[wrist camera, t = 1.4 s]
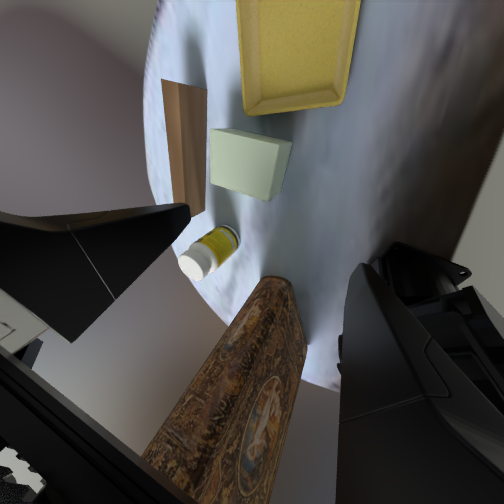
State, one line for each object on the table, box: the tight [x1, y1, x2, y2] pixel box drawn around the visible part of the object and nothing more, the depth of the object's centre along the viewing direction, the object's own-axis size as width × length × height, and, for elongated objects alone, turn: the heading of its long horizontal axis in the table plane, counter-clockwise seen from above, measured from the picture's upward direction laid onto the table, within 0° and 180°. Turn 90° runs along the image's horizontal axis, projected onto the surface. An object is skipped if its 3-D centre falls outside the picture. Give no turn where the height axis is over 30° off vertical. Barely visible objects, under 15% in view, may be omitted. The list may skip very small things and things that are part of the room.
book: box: [141, 276, 307, 504], centre depth 22 cm, size 16×6×25 cm, turn 19°
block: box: [210, 128, 292, 202], centre depth 19 cm, size 7×5×4 cm
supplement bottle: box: [178, 225, 240, 281], centre depth 25 cm, size 5×5×8 cm
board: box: [161, 79, 207, 218], centre depth 22 cm, size 2×14×4 cm, turn 168°
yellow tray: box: [236, 0, 361, 117], centre depth 14 cm, size 9×9×2 cm
